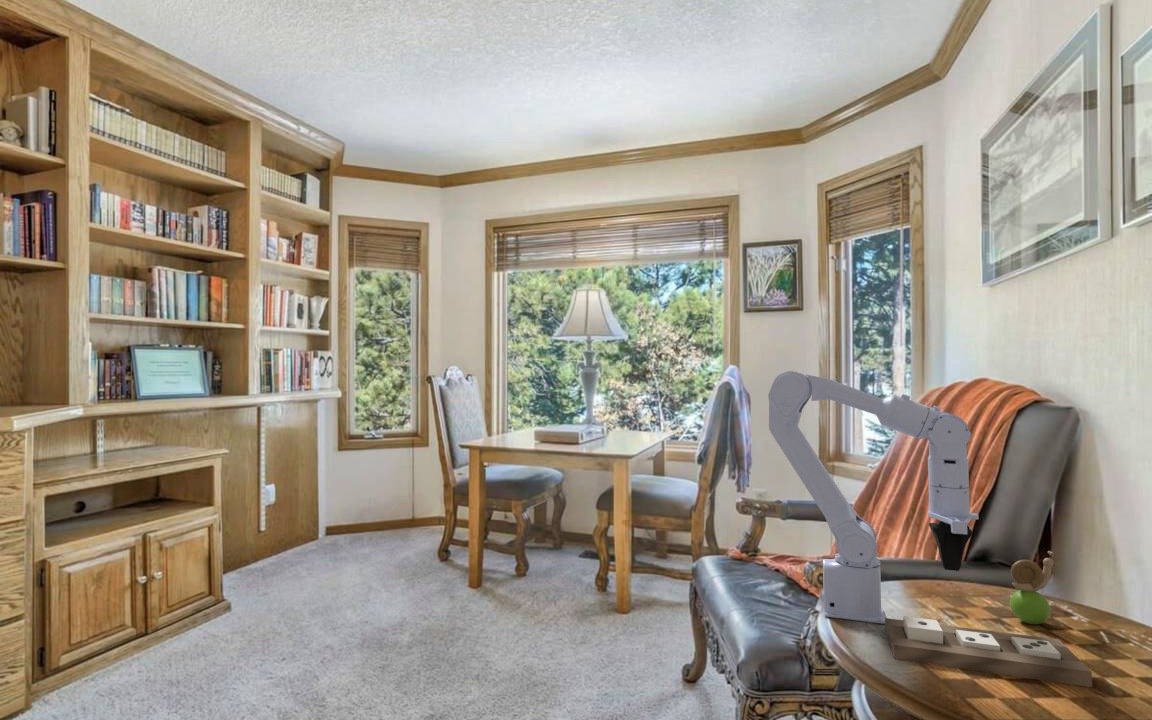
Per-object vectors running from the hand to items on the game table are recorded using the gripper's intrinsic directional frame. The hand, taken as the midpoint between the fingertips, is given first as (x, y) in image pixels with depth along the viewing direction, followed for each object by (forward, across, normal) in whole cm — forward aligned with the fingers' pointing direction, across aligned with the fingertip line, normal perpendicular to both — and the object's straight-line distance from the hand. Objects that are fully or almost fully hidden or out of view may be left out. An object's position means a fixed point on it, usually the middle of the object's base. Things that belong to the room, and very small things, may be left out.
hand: (951, 569), depth 99 cm
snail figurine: (+10, +7, -13) cm, 18 cm away
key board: (+9, -11, -1) cm, 15 cm away
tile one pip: (+8, -11, +6) cm, 15 cm away
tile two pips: (+9, -11, -1) cm, 14 cm away
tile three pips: (+9, -11, -8) cm, 16 cm away
